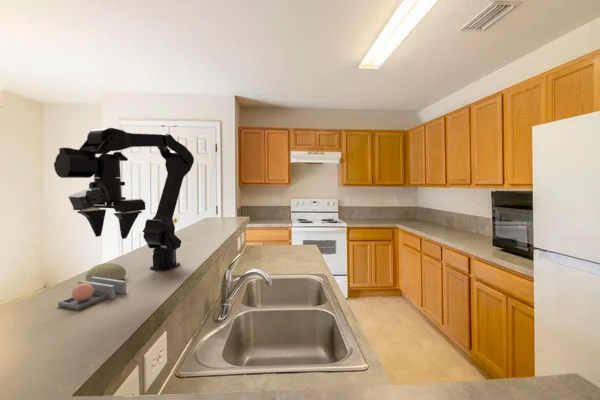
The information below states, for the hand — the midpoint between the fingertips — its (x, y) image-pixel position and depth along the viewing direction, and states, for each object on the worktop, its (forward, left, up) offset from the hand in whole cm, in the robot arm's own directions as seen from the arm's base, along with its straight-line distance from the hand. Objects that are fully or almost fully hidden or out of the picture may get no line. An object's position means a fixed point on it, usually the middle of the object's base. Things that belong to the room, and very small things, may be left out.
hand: (110, 237), depth 74 cm
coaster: (+10, +3, -13) cm, 17 cm away
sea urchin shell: (-2, -5, -13) cm, 14 cm away
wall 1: (+6, +2, -13) cm, 14 cm away
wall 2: (+3, +2, -13) cm, 13 cm away
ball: (+10, +3, -13) cm, 16 cm away
